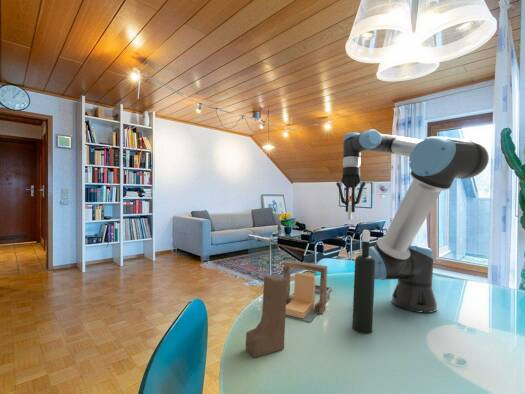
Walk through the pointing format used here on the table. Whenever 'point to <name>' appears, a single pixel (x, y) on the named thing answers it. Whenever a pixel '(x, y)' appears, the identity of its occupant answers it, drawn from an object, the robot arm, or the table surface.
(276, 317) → the wooden block
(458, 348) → the table surface
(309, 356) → the table surface
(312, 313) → the felt mat
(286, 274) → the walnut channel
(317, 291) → the pad
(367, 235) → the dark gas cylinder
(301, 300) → the tan l-shaped block
